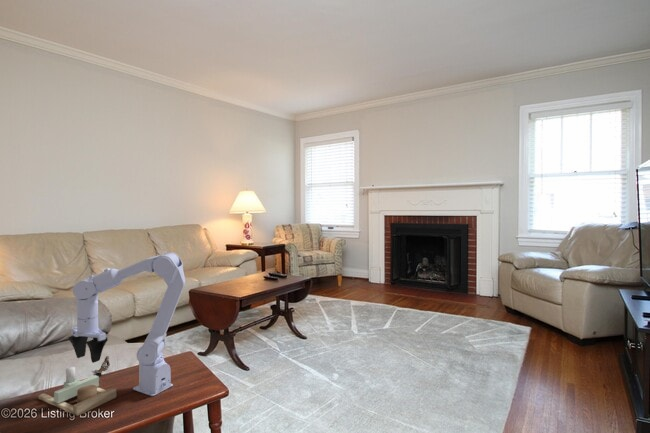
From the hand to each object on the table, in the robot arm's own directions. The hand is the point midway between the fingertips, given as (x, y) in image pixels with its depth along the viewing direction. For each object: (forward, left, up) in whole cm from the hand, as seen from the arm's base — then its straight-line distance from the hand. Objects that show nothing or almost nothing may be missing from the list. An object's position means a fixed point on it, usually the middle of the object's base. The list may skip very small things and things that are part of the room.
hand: (88, 359), depth 118 cm
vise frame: (-2, +4, -10) cm, 11 cm away
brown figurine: (+9, -11, -11) cm, 18 cm away
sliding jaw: (0, +4, -9) cm, 10 cm away
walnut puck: (-6, +4, -10) cm, 13 cm away
